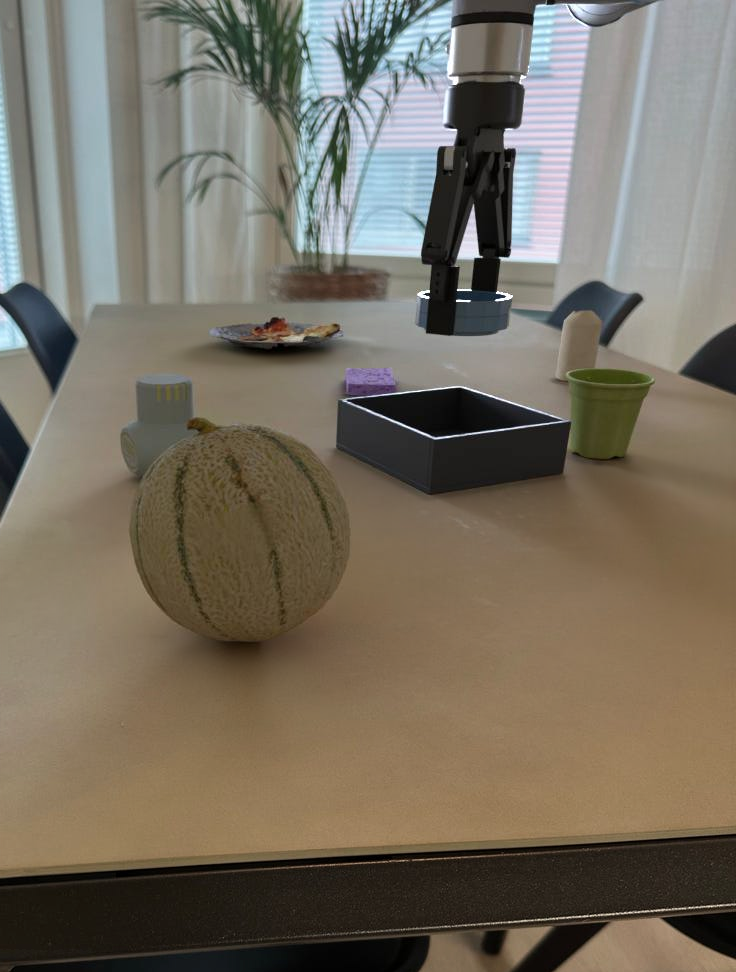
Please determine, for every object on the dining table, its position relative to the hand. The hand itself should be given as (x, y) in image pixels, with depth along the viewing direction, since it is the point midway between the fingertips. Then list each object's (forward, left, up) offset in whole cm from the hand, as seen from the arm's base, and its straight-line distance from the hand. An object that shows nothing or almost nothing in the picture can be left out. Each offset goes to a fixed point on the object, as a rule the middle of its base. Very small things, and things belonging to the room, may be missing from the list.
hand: (460, 327), depth 97 cm
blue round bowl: (0, 0, 0) cm, 0 cm away
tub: (-1, +1, -14) cm, 14 cm away
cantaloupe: (-30, +39, -14) cm, 51 cm away
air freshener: (+7, +31, -14) cm, 35 cm away
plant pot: (-6, -16, -14) cm, 23 cm away
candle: (+27, -43, -14) cm, 53 cm away
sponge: (+35, -11, -14) cm, 39 cm away
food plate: (+75, -15, -14) cm, 78 cm away
